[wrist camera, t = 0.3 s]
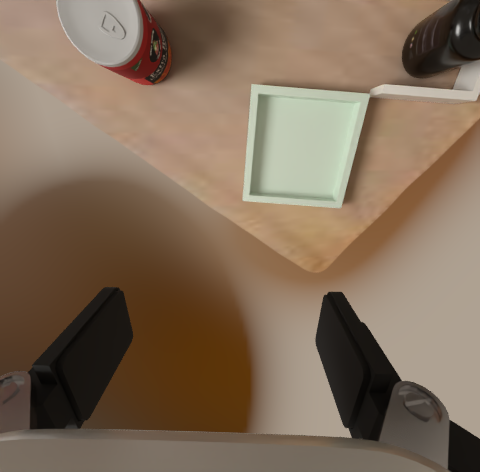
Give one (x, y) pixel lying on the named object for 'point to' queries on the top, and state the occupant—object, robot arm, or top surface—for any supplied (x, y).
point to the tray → (301, 144)
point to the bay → (465, 89)
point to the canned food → (118, 37)
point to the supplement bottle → (444, 40)
